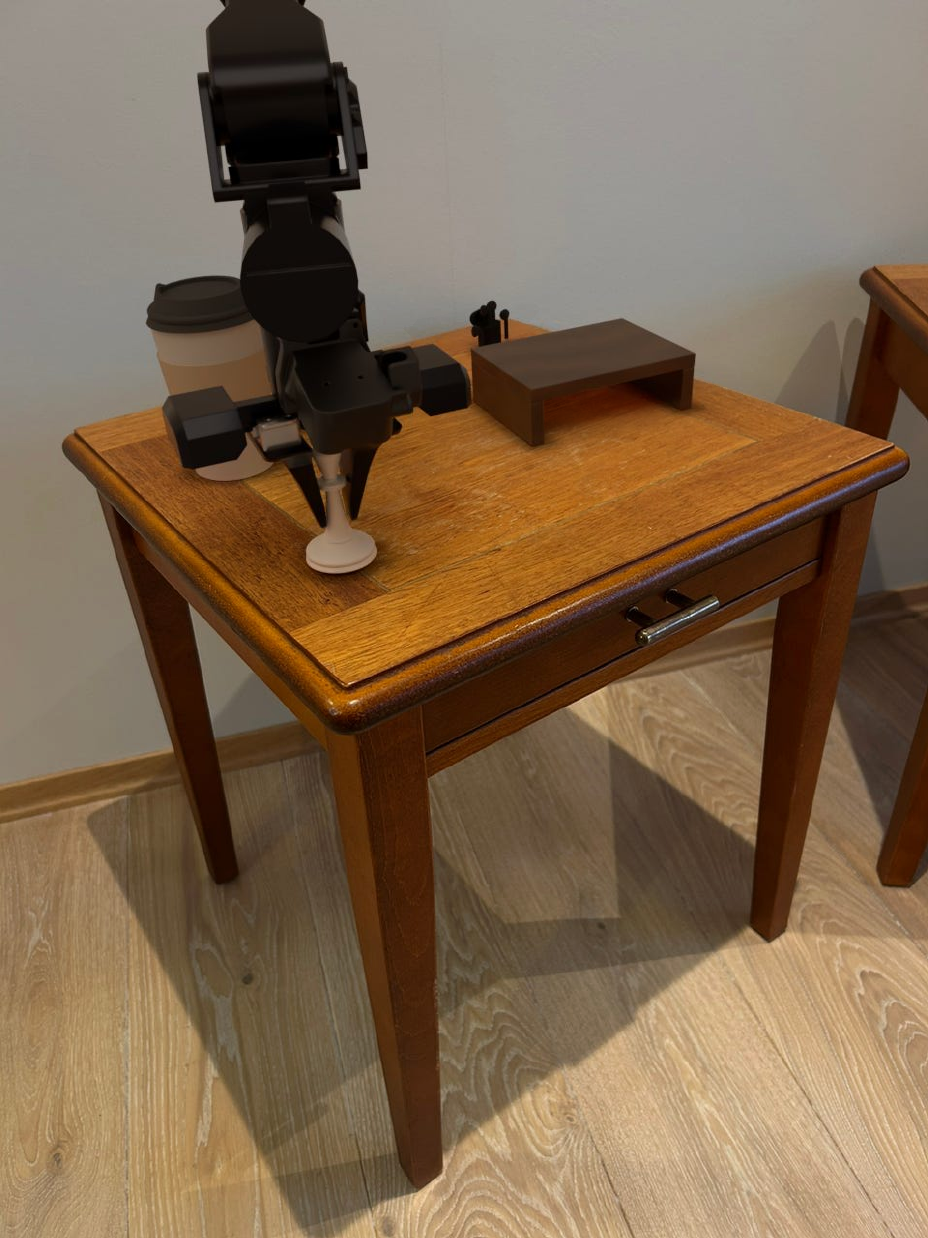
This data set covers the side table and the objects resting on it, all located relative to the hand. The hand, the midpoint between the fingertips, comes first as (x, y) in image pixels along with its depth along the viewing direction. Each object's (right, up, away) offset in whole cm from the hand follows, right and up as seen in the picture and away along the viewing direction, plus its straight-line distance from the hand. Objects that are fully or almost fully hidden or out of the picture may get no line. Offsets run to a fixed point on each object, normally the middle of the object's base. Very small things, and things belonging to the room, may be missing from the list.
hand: (337, 521), depth 66 cm
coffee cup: (-11, +6, +16) cm, 20 cm away
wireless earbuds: (+11, +21, +36) cm, 44 cm away
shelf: (+19, +13, +23) cm, 32 cm away
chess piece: (0, -2, +2) cm, 3 cm away
